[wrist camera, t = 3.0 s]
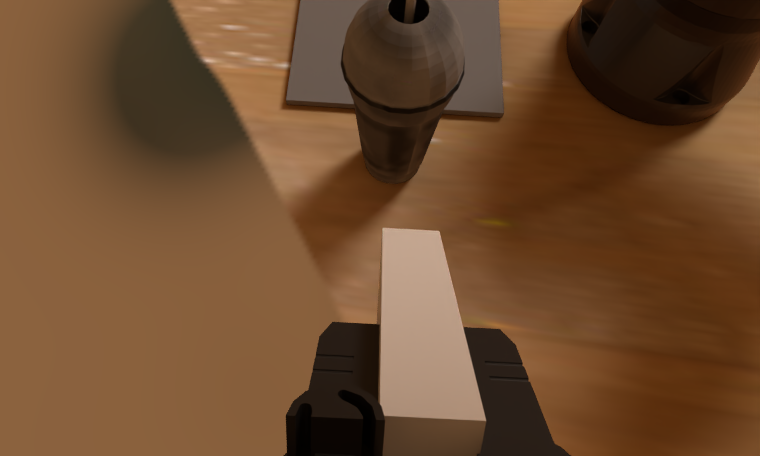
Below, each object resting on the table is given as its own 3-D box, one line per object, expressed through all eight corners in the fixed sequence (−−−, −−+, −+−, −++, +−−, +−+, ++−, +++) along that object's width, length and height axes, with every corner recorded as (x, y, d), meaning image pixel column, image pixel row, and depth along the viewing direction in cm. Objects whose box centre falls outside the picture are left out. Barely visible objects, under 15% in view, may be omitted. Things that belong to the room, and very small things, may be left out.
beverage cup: (336, 188, 38) (309, -33, 19) (359, 111, 40) (355, -149, 22) (428, 209, 37) (491, 3, 19) (445, 130, 40) (515, -119, 21)
